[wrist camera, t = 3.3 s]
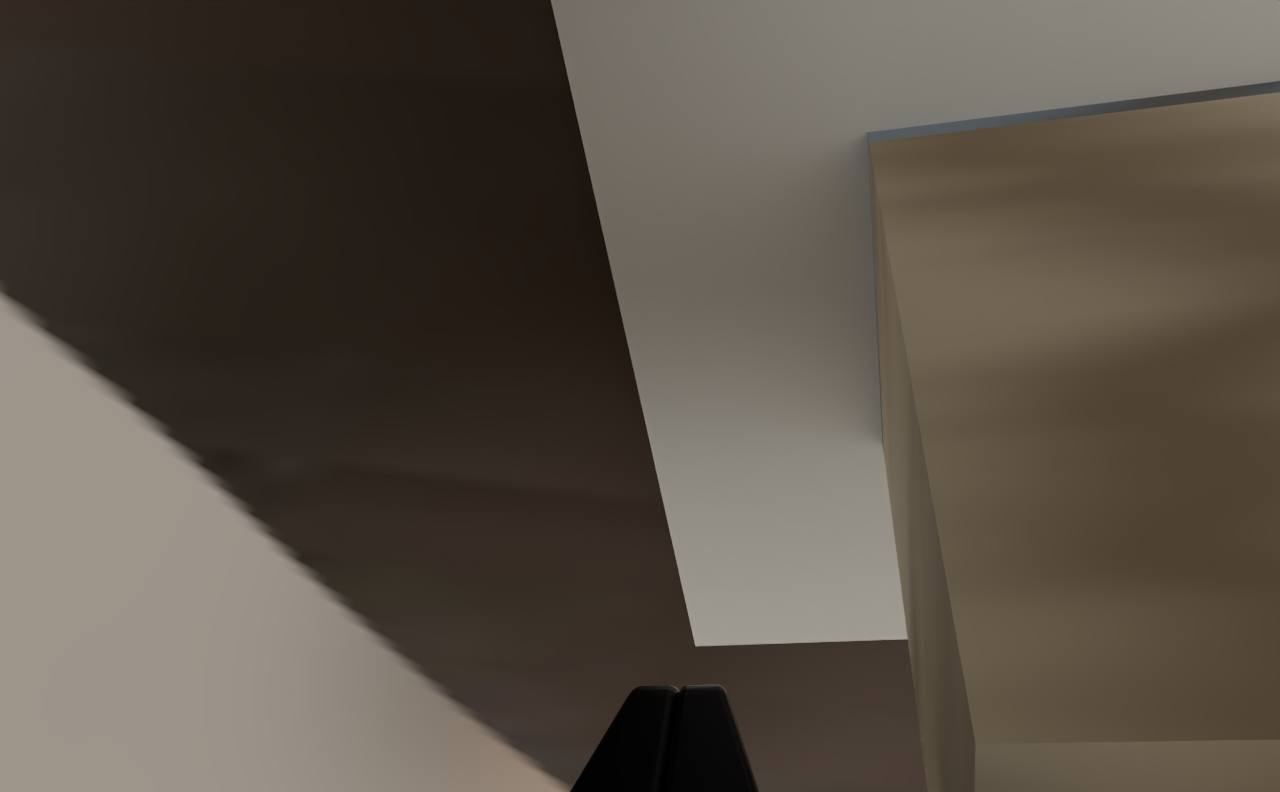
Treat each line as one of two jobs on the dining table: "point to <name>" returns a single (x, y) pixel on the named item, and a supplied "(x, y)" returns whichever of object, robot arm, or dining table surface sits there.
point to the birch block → (1087, 440)
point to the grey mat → (813, 247)
